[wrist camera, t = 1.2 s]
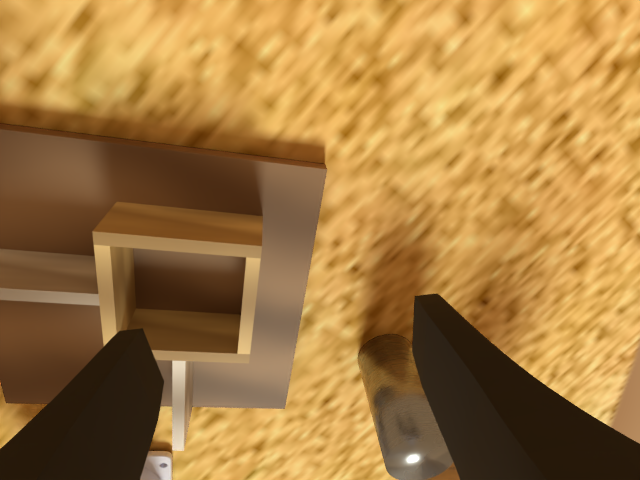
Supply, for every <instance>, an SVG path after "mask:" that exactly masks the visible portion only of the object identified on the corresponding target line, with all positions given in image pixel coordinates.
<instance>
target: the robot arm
mask: <svg viewBox="0 0 640 480" xmlns="http://www.w3.org/2000/svg"><path fill="white" fill-rule="evenodd" d="M412 353H413V357H414V360H415V364H416V367H417V371H418V374H419V378H420V381H421V385H422V388H423V390H424V393H425V395H426V398H427V400H428V402H429V405H430V407H431V410H432V412H433V415H434V417H435V419H436V422H437V424H438V427H439V429H440V431H441V434H442V436H443V438H444V441H445V443H446V446H447V448H448V450H449V453H450V455H451V458H452V460H453V462H454V465H455V467H456V470H457V473H458V475H459V478H460V480H640V444H639V443H637V442H635V441H634V440H632V439H630V438H628V437H626V436H625V435H623V434H621V433H620V432H618V431H616V430H614V429H613V428H611V427H609V426H608V425H606V424H604V423H603V422H601V421H599V420H598V419H596V418H594V417H593V416H591V415H589V414H588V413H586V412H585V411H583V410H581V409H580V408H578V407H577V406H575V405H574V404H572V403H571V402H569V401H568V400H566V399H565V398H563V397H562V396H560V395H559V394H557V393H556V392H554V391H553V390H552V389H550V388H549V387H547V386H546V385H544V384H543V383H542V382H540V381H539V380H537V379H536V378H535V377H533V376H532V375H531V374H529V373H528V372H527V371H526V370H524V369H523V368H522V367H520V366H519V365H518V364H517V363H515V362H514V361H513V360H512V359H510V358H509V357H508V356H507V355H505V354H504V353H503V352H502V351H501V350H499V349H498V348H497V347H496V346H495V345H494V344H492V343H491V342H490V341H489V340H488V339H487V338H485V337H484V336H483V335H482V334H481V333H480V332H479V331H478V330H476V329H475V328H474V327H473V326H472V325H471V324H470V323H469V322H468V321H467V320H465V319H464V318H463V317H462V316H461V315H460V314H459V313H458V312H457V311H456V310H455V309H454V308H453V307H452V306H451V305H449V304H448V303H447V302H446V301H445V300H444V299H443V298H442V297H441V296H440V295H439V294H429V295H420V296H415V302H414V322H413V342H412ZM163 387H164V379H163V377H162V375H161V372H160V370H159V367H158V365H157V362H156V360H155V357H154V355H153V352H152V350H151V348H150V345H149V343H148V340H147V338H146V335H145V333H144V330H143V328H140V329H131V330H123V331H119V332H118V333H117V334H116V335H114V336H113V337H112V338H111V339H110V341H109V342H108V343H107V344H106V345H105V346H104V347H103V348H102V349H101V350H100V351H99V352H98V353H97V354H96V355H95V356H94V357H93V358H92V359H91V360H90V362H89V363H88V364H87V365H86V366H85V367H84V368H83V369H82V370H81V371H80V372H79V373H78V374H77V375H76V376H75V377H74V378H73V379H72V380H71V381H70V382H69V383H68V384H67V385H66V386H65V388H64V389H63V390H62V391H61V392H60V393H59V394H58V395H57V396H56V397H55V398H54V399H53V400H52V401H51V402H50V403H49V404H48V405H47V406H45V407H44V408H43V409H42V410H41V411H40V412H39V413H38V414H37V415H36V416H35V417H34V418H33V419H32V420H31V421H30V422H29V423H28V424H27V425H26V426H25V427H24V428H23V429H22V430H21V431H19V432H18V433H17V434H16V435H15V436H14V437H13V438H12V439H11V440H10V441H9V442H8V443H6V444H5V445H4V446H3V447H2V448H1V449H0V480H172V454H171V453H170V452H168V451H149V448H150V445H151V442H152V438H153V435H154V431H155V428H156V424H157V421H158V416H159V411H160V405H161V400H162V393H163Z"/></svg>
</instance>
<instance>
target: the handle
mask: <svg viewBox="0 0 640 480" xmlns="http://www.w3.org/2000/svg"><path fill="white" fill-rule="evenodd" d="M426 480H460V478H459V475H458V473H457V470H456V467H455V465H454V462H453V463H452V465H451V466H450V467H449V468H448V469H446V470H445V471H444V472H442V473H441V474H439V475H437V476H435V477H432V478H429V479H426Z"/></svg>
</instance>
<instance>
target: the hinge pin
mask: <svg viewBox="0 0 640 480" xmlns="http://www.w3.org/2000/svg"><path fill="white" fill-rule="evenodd" d="M358 364H359V368H360V372H361V375H362V379H363V383H364V387H365V391H366V394H367V398H368V402H369V406H370V410H371V413H372V417H373V421H374V425H375V428H376V432H377V436H378V440H379V444H380V447H381V451H382V455H383V459H384V463H385V466H386V469H387V471H388V473H389V474H390V475H391V476H392V477H394V478H396V479H399V480H426V479H429V478H432V477H435V476H437V475H439V474H441V473H442V472H444V471H445V470H446V469H448V468H449V467H450V466H451V465H452V463H453V460H452V458H451V455H450V453H449V450H448V448H447V446H446V443H445V441H444V438H443V436H442V434H441V431H440V429H439V427H438V424H437V422H436V419H435V417H434V415H433V412H432V410H431V407H430V405H429V402H428V400H427V398H426V395H425V393H424V390H423V388H422V385H421V381H420V378H419V374H418V371H417V367H416V364H415V360H414V357H413V353H412V345H411V343H410V342H409V341H408V340H407V339H406V338H404V337H402V336H399V335H393V334H388V335H382V336H378V337H376V338H374V339H372V340H370V341H369V342H367V343H366V344H365V345H364V346H363V347H362V349H361V350H360V352H359V355H358Z"/></svg>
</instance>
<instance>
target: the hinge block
mask: <svg viewBox="0 0 640 480" xmlns="http://www.w3.org/2000/svg"><path fill="white" fill-rule="evenodd" d="M326 172H327V168H326V166H325V164H320V163H312V162H304V161H296V160H288V159H280V158H272V157H264V156H256V155H248V154H240V153H232V152H224V151H216V150H208V149H200V148H192V147H184V146H176V145H168V144H160V143H152V142H144V141H136V140H128V139H120V138H113V137H105V136H97V135H89V134H81V133H73V132H65V131H57V130H49V129H41V128H33V127H25V126H17V125H9V124H1V123H0V381H1V385H2V389H3V393H4V397H5V401H6V403H25V404H49V403H50V402H51V401H52V400H53V399H54V398H55V397H56V396H57V395H58V394H59V393H60V392H61V391H62V390H63V389H64V388H65V386H66V385H67V384H68V383H69V382H70V381H71V380H72V379H73V378H74V377H75V376H76V375H77V374H78V373H79V372H80V371H81V370H82V369H83V368H84V367H85V366H86V365H87V364H88V363H89V362H90V360H91V359H92V358H93V357H94V356H95V355H96V354H97V353H98V352H99V351H100V350H101V349H102V348H103V347H104V346H105V345H106V344H107V343H108V342H109V341H110V339H111V338H112V337H113V336H114V335H116V334H117V333H118V332H119V331H123V330H131V329H140V328H143V330H144V333H145V335H146V338H147V340H148V343H149V345H150V348H151V350H152V352H153V355H154V357H155V360H156V362H157V365H158V367H159V370H160V372H161V375H162V377H163V379H164V387H163V393H162V400H161V405H160V406H172V451H184V447H185V442H186V437H187V432H188V427H189V421H190V416H191V411H192V407H225V408H275V409H285V405H286V399H287V393H288V388H289V382H290V376H291V371H292V365H293V359H294V354H295V348H296V342H297V337H298V331H299V325H300V320H301V314H302V308H303V303H304V297H305V291H306V286H307V280H308V274H309V269H310V263H311V257H312V252H313V246H314V240H315V235H316V229H317V223H318V218H319V212H320V206H321V201H322V195H323V189H324V184H325V178H326Z"/></svg>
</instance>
